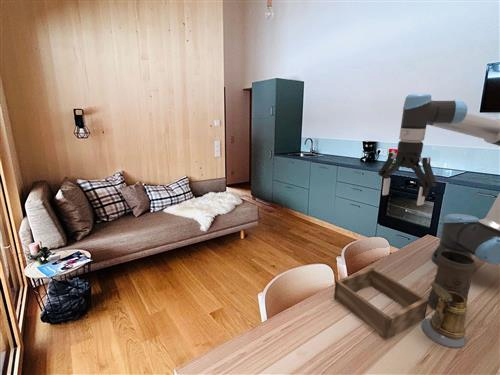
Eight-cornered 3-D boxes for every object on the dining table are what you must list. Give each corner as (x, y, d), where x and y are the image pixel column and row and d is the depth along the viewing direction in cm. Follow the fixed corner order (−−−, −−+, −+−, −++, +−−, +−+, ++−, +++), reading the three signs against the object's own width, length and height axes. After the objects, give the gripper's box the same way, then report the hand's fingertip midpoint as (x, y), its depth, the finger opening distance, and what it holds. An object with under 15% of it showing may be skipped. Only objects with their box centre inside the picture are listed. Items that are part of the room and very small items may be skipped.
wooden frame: (370, 283, 107) (372, 267, 106) (424, 318, 89) (428, 299, 87) (333, 297, 99) (335, 281, 97) (386, 339, 80) (389, 320, 79)
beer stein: (473, 322, 87) (485, 265, 83) (436, 317, 89) (446, 261, 86) (449, 294, 102) (458, 245, 98) (417, 291, 104) (425, 242, 100)
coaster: (434, 315, 90) (434, 313, 90) (472, 339, 81) (473, 337, 81) (413, 327, 85) (414, 325, 85) (452, 353, 76) (453, 351, 76)
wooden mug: (412, 324, 85) (422, 274, 80) (442, 314, 90) (453, 266, 85) (440, 347, 77) (452, 292, 72) (471, 334, 81) (485, 282, 77)
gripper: (372, 138, 103) (366, 192, 108) (443, 145, 81) (430, 211, 87) (385, 137, 106) (378, 189, 112) (457, 144, 85) (443, 208, 90)
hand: (401, 199), depth 99 cm, fingers open, 13 cm apart
